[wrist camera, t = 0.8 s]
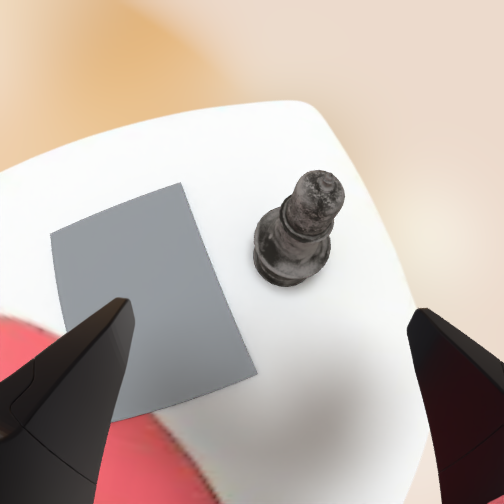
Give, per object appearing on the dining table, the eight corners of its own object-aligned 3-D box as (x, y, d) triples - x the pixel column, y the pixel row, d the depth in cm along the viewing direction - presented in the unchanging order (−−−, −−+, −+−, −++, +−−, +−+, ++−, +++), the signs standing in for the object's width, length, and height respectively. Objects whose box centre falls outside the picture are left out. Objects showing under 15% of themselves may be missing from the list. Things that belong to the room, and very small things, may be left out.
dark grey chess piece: (326, 243, 26) (390, 163, 14) (302, 302, 23) (369, 249, 12) (267, 214, 26) (297, 116, 15) (237, 270, 24) (251, 191, 13)
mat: (257, 373, 21) (257, 373, 21) (100, 424, 18) (98, 425, 18) (180, 184, 26) (180, 182, 26) (52, 235, 23) (50, 233, 23)
